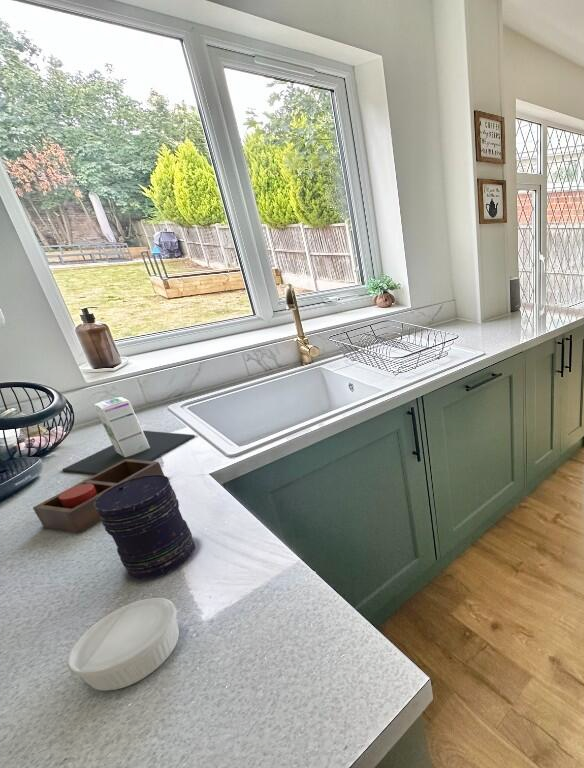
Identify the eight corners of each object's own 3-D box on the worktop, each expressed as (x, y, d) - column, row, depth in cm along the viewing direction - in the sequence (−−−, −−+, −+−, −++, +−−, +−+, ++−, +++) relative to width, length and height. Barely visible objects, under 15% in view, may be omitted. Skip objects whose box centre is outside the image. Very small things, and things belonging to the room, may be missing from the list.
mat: (63, 471, 103) (62, 469, 103) (142, 432, 121) (142, 430, 121) (121, 477, 100) (120, 475, 99) (194, 436, 118) (194, 435, 118)
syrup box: (151, 448, 111) (130, 399, 106) (123, 458, 107) (101, 408, 101) (141, 443, 114) (121, 395, 108) (114, 453, 109) (92, 403, 104)
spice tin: (64, 521, 85) (51, 497, 83) (92, 505, 90) (80, 482, 88) (84, 524, 84) (71, 500, 82) (111, 507, 89) (100, 484, 87)
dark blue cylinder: (209, 544, 78) (183, 478, 73) (155, 586, 70) (121, 515, 64) (170, 535, 81) (142, 470, 75) (113, 574, 72) (77, 505, 66)
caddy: (43, 527, 84) (32, 507, 82) (133, 476, 100) (125, 458, 98) (80, 532, 82) (69, 512, 80) (166, 479, 98) (158, 461, 97)
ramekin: (83, 657, 58) (67, 632, 56) (180, 608, 66) (168, 583, 64) (84, 721, 51) (65, 693, 49) (193, 657, 58) (180, 631, 56)
